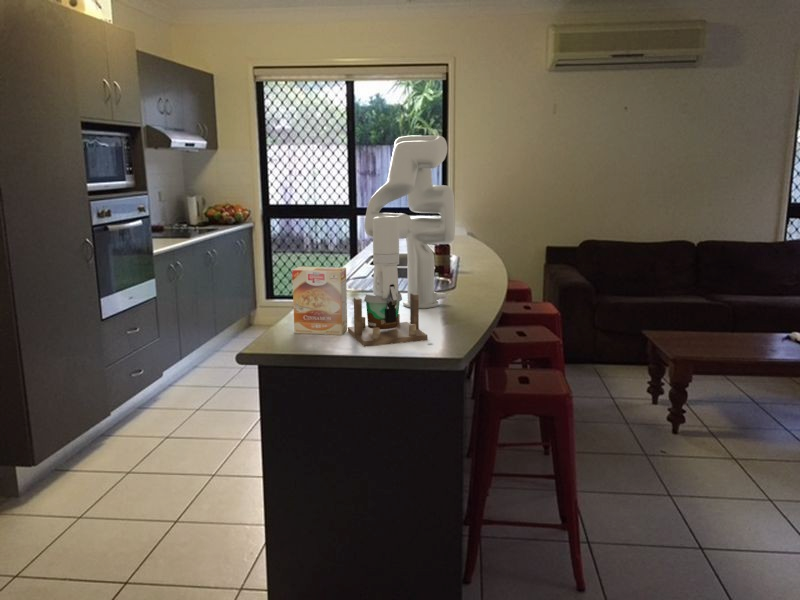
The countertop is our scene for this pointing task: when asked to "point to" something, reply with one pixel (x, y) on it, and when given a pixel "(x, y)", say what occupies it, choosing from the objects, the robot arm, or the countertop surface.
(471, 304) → the countertop surface
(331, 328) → the coffeecake box
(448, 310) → the countertop surface
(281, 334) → the countertop surface
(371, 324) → the food container
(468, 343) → the countertop surface
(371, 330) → the peg stand
